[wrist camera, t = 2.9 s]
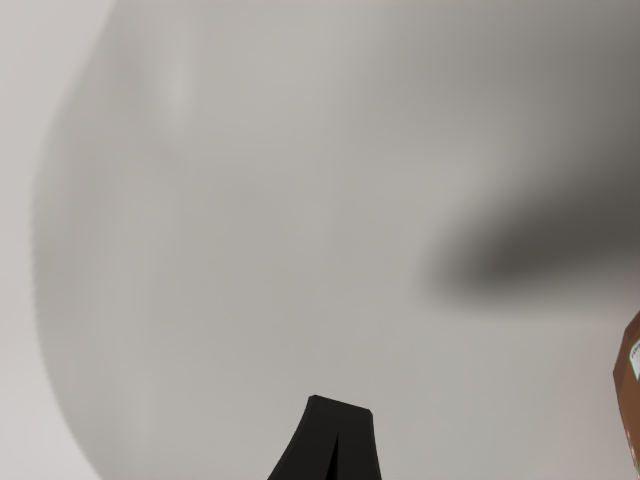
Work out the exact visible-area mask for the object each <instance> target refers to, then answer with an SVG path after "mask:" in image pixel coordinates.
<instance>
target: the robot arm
mask: <svg viewBox="0 0 640 480" xmlns="http://www.w3.org/2000/svg"><path fill="white" fill-rule="evenodd" d="M267 480H382V478H381V473H380V468H379V462H378V456H377V450H376V444H375V436H374V427H373V414H372V413H371V411H370V410H369V409H365V408H362V407H358V406H354V405H351V404H347V403H343V402H340V401H336V400H332V399H329V398H325V397H322V396H318V395H313V396H310V397H309V398H308V402H307V406H306V409H305V411H304V414H303V416H302V419H301V421H300V423H299V425H298V427H297V429H296V431H295V433H294V435H293V437H292V439H291V441H290V443H289V445H288V446H287V448H286V450H285V451H284V453H283V455H282V456H281V458H280V460H279V461H278V463H277V465H276V466H275V468H274V470H273V471H272V473H271V475H270V476H269V478H268V479H267Z"/></svg>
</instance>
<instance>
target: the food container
mask: <svg viewBox="0 0 640 480" xmlns="http://www.w3.org/2000/svg"><path fill="white" fill-rule="evenodd" d="M613 377H614V382H615V388H616V393H617V399H618V404H619V410H620V414H621V418H622V421H623V425H624V429H625V432H626V436H627V440H628V443H629V447H630V450H631V454H632V458H633V461H634V465H635V469H636V472H637V476H638V480H640V310H639V311H638V313H637V314H636V316H635V317H634V318H633V320H632V321H631V322H630V324H629V325H628V326H627V328H626V329H625V332H624V335H623V339H622V342H621V346H620V349H619V353H618V356H617V360H616V363H615V367H614V370H613Z"/></svg>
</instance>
